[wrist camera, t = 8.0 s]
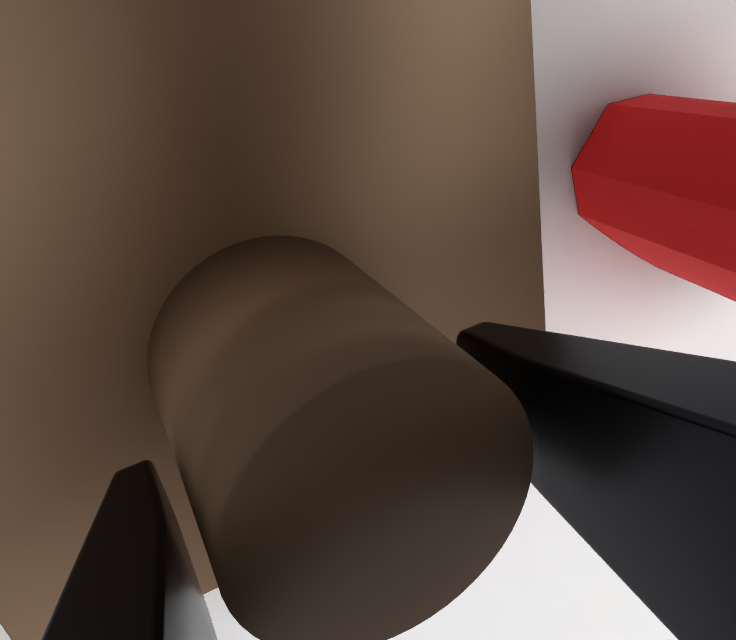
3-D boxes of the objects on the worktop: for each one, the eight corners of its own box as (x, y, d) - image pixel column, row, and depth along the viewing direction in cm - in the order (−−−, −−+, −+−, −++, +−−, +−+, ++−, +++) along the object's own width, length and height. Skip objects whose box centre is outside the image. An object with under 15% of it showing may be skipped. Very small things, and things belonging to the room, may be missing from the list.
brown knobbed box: (342, -111, 14) (822, -275, 6) (409, 315, 19) (717, 563, 10) (-228, -14, 11) (-1028, -61, 3) (30, 462, 16) (41, 971, 7)
